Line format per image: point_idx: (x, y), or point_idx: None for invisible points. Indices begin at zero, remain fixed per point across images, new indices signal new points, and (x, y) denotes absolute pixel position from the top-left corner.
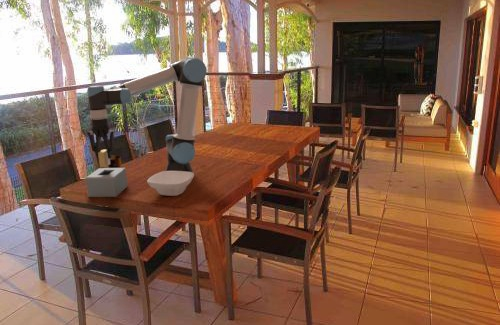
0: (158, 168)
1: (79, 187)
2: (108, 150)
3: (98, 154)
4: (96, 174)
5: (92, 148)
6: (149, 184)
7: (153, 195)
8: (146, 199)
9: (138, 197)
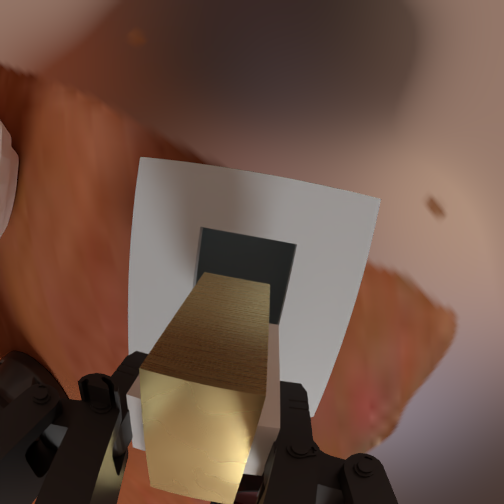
0: (127, 469)
1: (404, 350)
2: (86, 410)
3: (261, 369)
4: (308, 266)
5: (379, 491)
6: (3, 126)
7: (39, 162)
8: (57, 113)
9: (85, 139)
